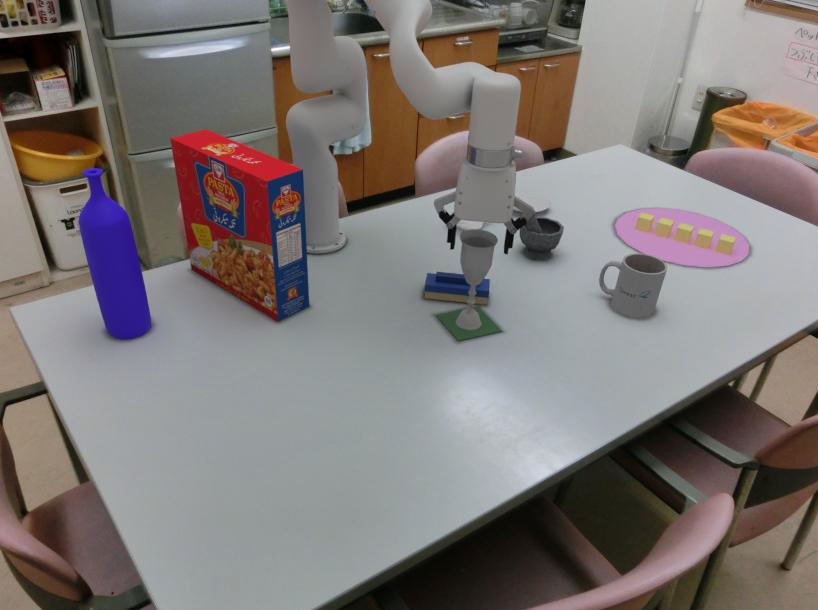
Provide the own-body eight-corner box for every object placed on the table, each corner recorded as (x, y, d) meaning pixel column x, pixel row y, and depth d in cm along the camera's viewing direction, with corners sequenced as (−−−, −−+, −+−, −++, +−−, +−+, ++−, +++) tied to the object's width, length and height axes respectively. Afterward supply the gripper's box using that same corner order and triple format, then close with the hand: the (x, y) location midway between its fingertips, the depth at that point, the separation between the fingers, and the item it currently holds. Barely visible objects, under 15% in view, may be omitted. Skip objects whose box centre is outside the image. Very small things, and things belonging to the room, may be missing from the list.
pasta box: (191, 270, 145) (170, 138, 128) (222, 257, 150) (206, 129, 133) (278, 322, 131) (266, 181, 114) (309, 306, 136) (303, 169, 119)
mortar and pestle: (538, 240, 164) (547, 192, 157) (566, 256, 158) (577, 207, 151) (503, 251, 159) (510, 202, 151) (530, 268, 153) (539, 218, 145)
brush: (423, 299, 140) (425, 278, 137) (426, 286, 144) (427, 266, 141) (487, 305, 139) (490, 285, 136) (487, 293, 143) (490, 272, 140)
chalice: (448, 312, 136) (457, 229, 125) (482, 312, 137) (493, 229, 126) (453, 333, 130) (463, 247, 119) (489, 333, 131) (501, 247, 120)
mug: (661, 308, 142) (675, 265, 135) (639, 322, 137) (653, 278, 131) (610, 284, 148) (621, 242, 142) (588, 298, 143) (598, 255, 137)
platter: (734, 281, 152) (739, 268, 150) (596, 241, 165) (599, 228, 163) (760, 231, 174) (765, 218, 172) (637, 198, 187) (640, 186, 185)
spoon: (440, 227, 167) (442, 214, 165) (531, 199, 183) (533, 186, 181) (465, 241, 162) (467, 228, 159) (556, 211, 178) (559, 198, 176)
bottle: (162, 321, 129) (131, 166, 111) (134, 345, 123) (96, 184, 105) (125, 312, 131) (88, 158, 113) (96, 334, 125) (52, 175, 107)
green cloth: (458, 341, 129) (458, 340, 129) (435, 315, 135) (436, 314, 135) (501, 331, 132) (501, 330, 132) (478, 306, 139) (478, 306, 139)
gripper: (541, 151, 116) (526, 243, 126) (439, 143, 117) (433, 235, 127) (543, 166, 110) (527, 262, 120) (435, 158, 111) (429, 254, 121)
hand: (479, 248), depth 124 cm, fingers open, 9 cm apart
